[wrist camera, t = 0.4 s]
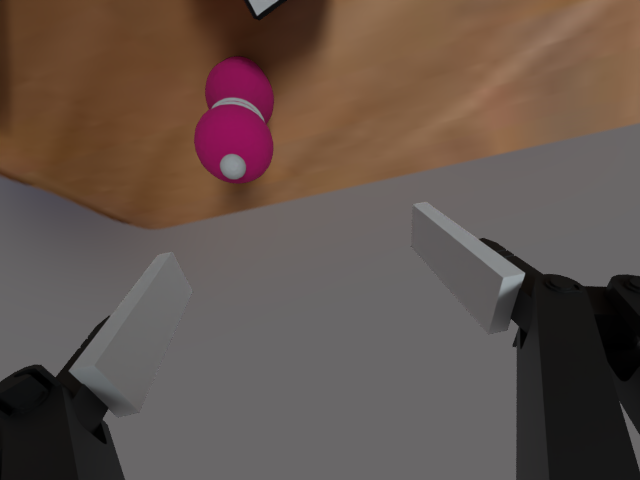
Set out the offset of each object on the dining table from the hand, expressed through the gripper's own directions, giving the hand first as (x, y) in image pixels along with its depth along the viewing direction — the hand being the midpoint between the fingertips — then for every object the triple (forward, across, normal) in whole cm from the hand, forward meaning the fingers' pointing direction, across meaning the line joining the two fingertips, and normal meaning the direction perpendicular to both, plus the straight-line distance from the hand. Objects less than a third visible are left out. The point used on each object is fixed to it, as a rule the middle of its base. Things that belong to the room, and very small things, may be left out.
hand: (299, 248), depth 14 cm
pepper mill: (+26, -4, +9) cm, 27 cm away
